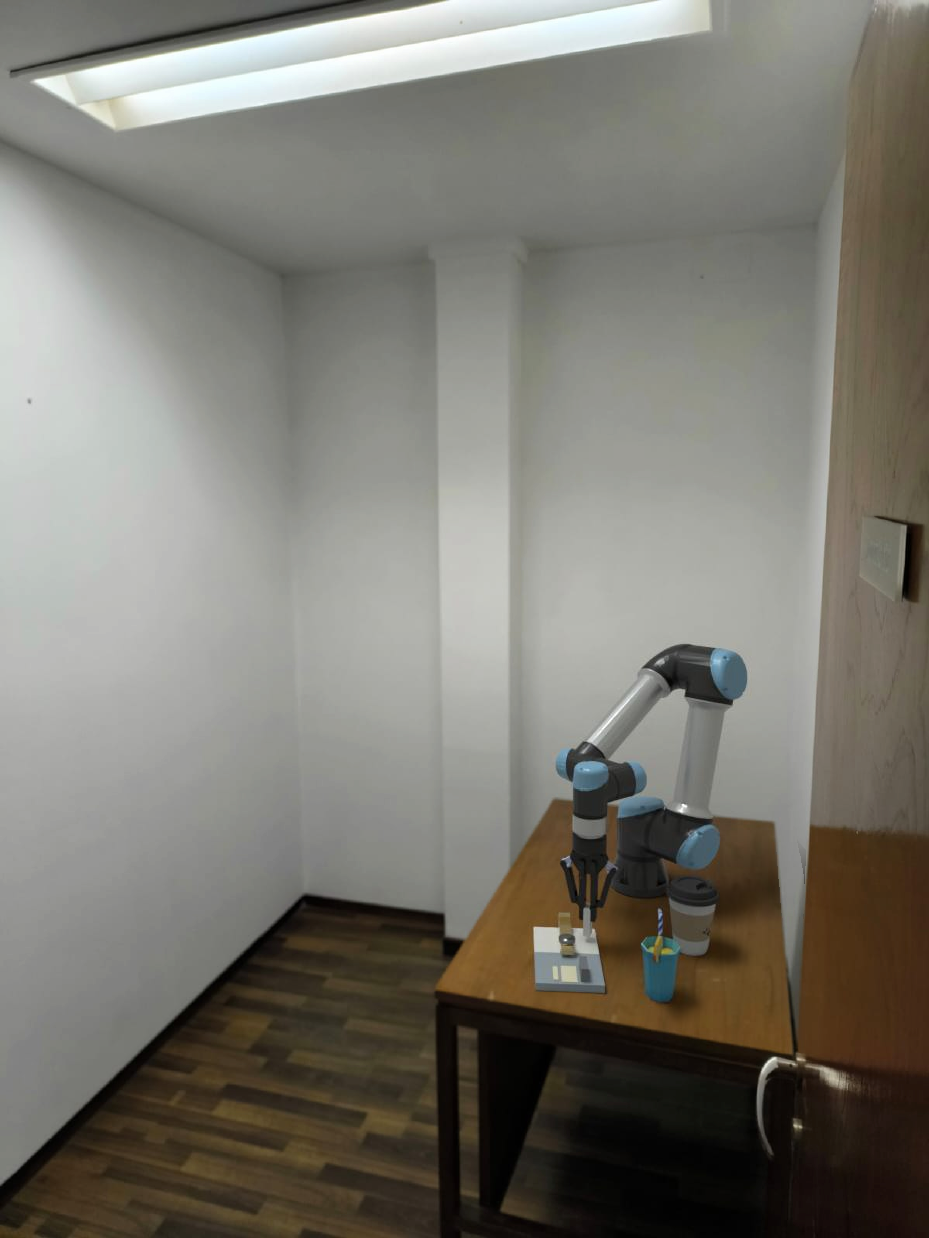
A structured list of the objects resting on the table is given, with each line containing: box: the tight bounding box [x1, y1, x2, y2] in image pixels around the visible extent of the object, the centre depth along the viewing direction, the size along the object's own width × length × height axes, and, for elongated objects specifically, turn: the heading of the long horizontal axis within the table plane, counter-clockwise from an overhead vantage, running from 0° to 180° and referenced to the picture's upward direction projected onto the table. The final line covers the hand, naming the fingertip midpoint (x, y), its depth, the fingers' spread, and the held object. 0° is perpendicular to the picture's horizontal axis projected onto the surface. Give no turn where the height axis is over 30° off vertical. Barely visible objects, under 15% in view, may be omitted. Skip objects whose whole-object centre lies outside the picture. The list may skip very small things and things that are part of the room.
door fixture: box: [533, 926, 606, 994], centre depth 176 cm, size 14×23×4 cm, turn 176°
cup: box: [640, 908, 681, 1003], centre depth 163 cm, size 14×8×15 cm, turn 168°
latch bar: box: [557, 911, 575, 955], centre depth 180 cm, size 13×4×3 cm, turn 176°
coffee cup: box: [665, 874, 720, 957], centre depth 181 cm, size 11×11×15 cm
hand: (587, 933), depth 182 cm, fingers closed
